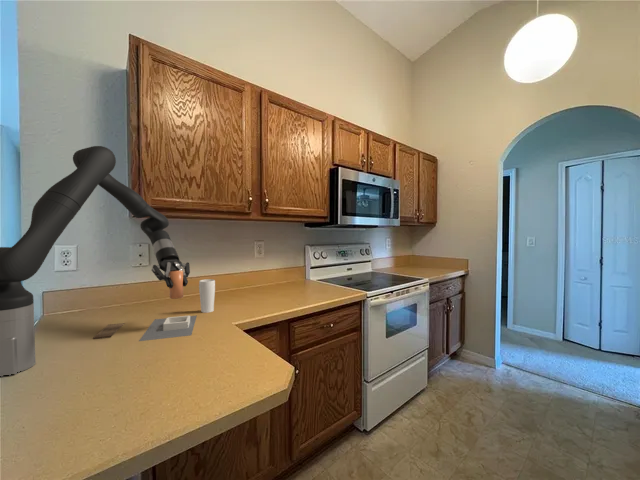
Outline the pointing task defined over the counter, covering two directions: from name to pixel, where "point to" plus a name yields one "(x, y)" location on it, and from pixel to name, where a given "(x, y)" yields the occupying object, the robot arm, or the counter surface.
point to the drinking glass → (207, 295)
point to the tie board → (170, 328)
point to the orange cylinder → (176, 284)
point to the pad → (108, 331)
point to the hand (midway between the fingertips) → (178, 285)
